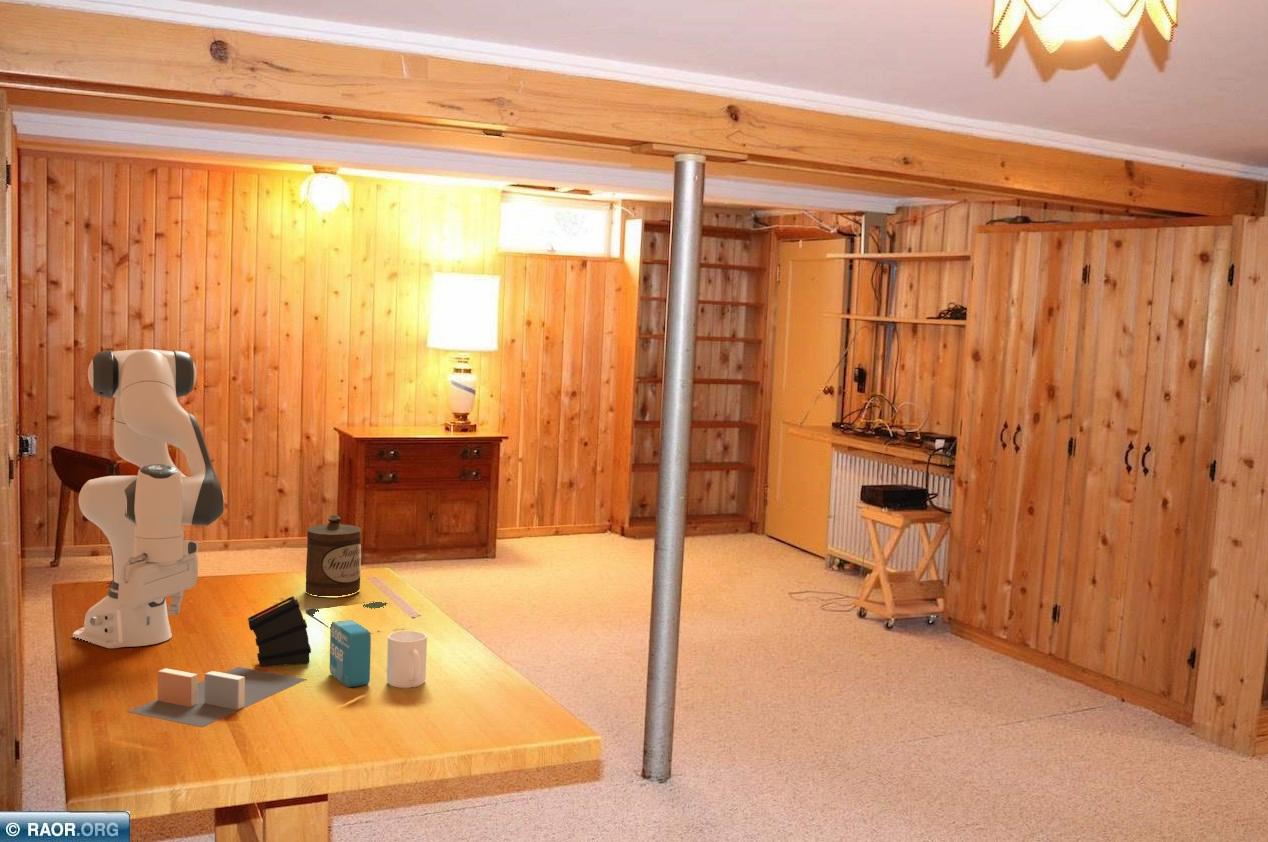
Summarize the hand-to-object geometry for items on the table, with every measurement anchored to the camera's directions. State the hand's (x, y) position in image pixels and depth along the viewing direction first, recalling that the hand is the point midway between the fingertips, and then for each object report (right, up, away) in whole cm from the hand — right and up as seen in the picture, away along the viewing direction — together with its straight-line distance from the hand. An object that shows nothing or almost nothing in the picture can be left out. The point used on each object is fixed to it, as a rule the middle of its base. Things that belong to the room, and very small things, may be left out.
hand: (158, 620), depth 222 cm
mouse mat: (+22, -13, +75) cm, 80 cm away
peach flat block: (+1, -18, +7) cm, 19 cm away
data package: (+30, -18, +27) cm, 44 cm away
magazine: (+12, -16, +36) cm, 41 cm away
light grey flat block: (+10, -18, +6) cm, 22 cm away
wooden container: (+7, -10, +101) cm, 102 cm away
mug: (+44, -19, +25) cm, 54 cm away
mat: (+8, -18, +12) cm, 23 cm away
